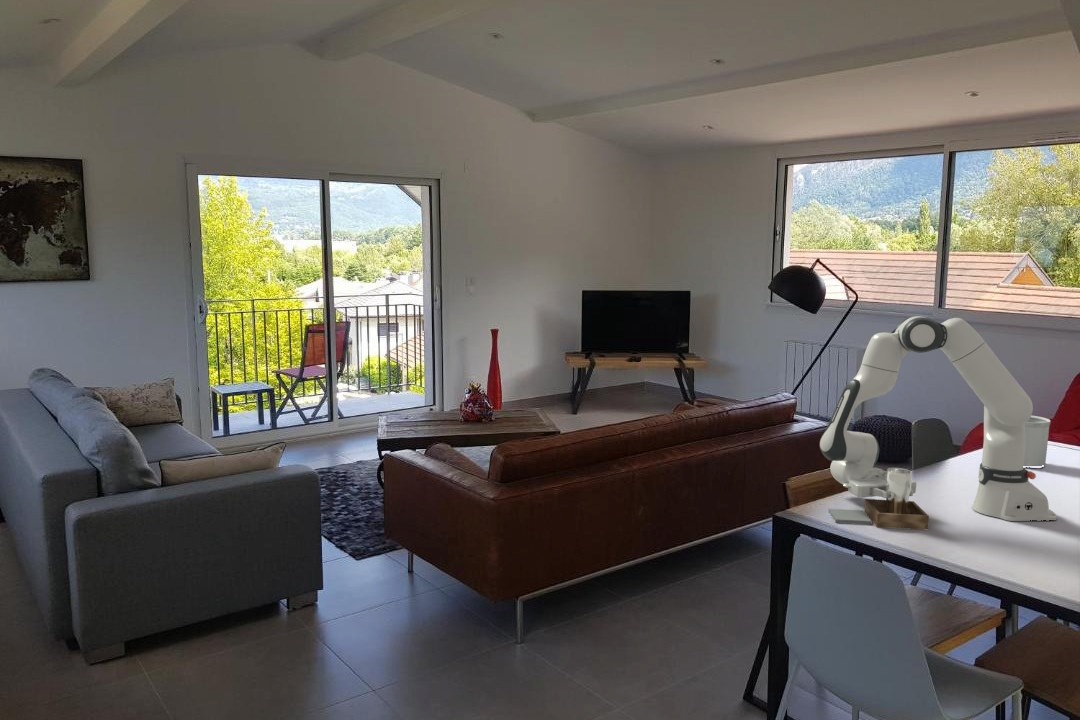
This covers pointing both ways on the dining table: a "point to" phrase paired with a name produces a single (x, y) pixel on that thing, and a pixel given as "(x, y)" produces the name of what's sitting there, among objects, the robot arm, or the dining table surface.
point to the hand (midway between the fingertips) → (899, 494)
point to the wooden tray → (896, 515)
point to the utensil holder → (1036, 441)
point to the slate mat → (849, 516)
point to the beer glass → (898, 490)
